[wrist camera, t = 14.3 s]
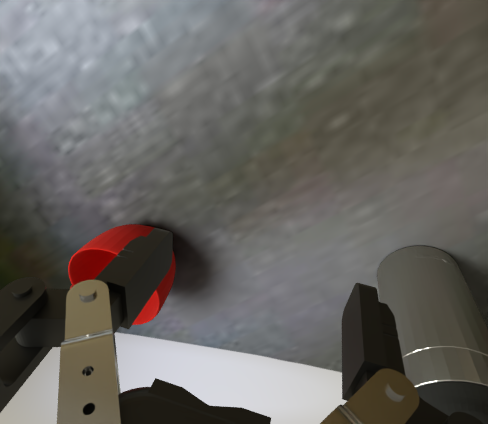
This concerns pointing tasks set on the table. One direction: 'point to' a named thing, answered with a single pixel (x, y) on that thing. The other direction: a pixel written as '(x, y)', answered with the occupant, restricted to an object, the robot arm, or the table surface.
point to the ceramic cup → (104, 251)
